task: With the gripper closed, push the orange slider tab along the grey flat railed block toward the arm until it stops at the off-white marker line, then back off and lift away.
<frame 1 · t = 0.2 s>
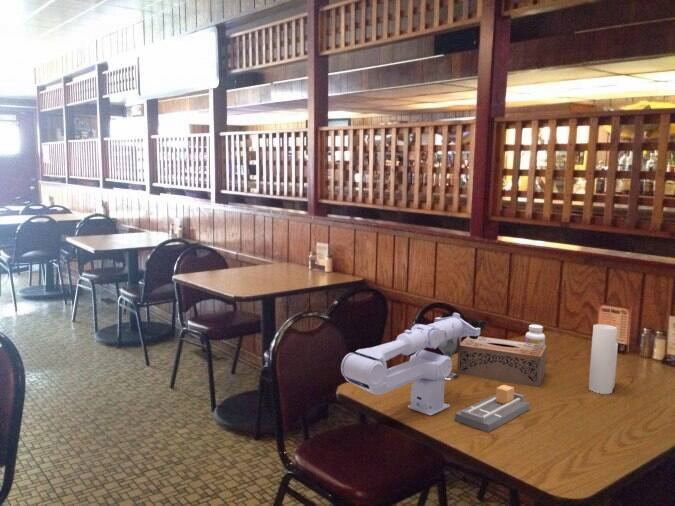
hand: (472, 321, 174), 22 cm above the table, tool horizontal, fingers open, 7 cm apart
tissue box cover: (501, 375, 193), on the table
fader tab: (505, 394, 162), point 4 cm above the table, slide at 0.0 cm
wine glass: (447, 376, 190), on the table
candle: (600, 388, 181), on the table
supplement bottle: (533, 361, 207), on the table
grey flat railed block: (493, 414, 158), on the table
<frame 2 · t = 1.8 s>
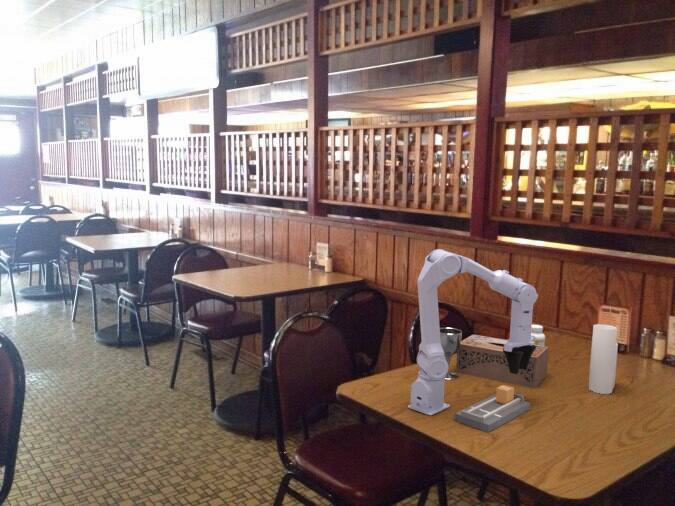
hand: (518, 371, 166), 9 cm above the table, tool pointing down, fingers open, 5 cm apart
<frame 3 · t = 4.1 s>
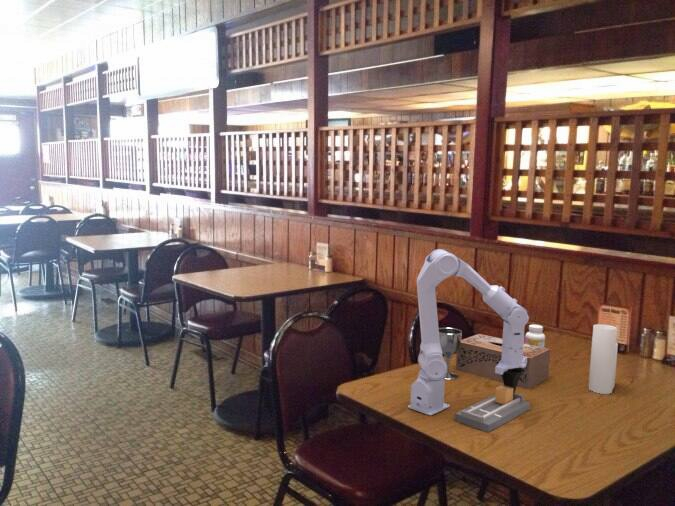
hand: (509, 393, 164), 4 cm above the table, tool pointing down, fingers closed
fader tab: (504, 394, 162), point 4 cm above the table, slide at 0.5 cm, touching gripper
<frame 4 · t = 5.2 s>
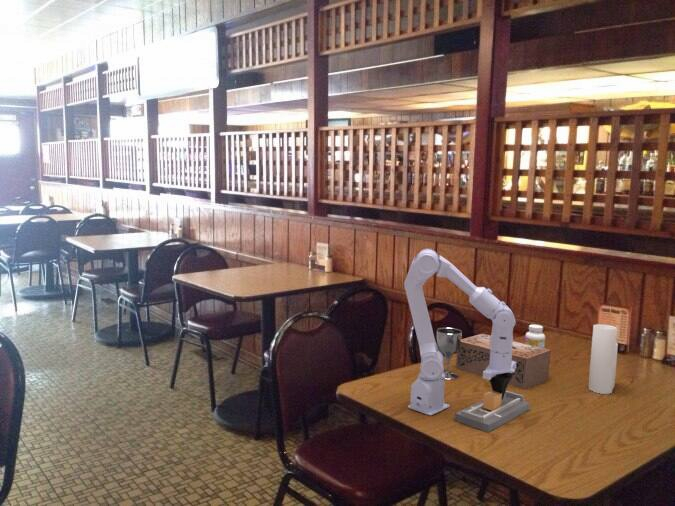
hand: (498, 398, 160), 4 cm above the table, tool pointing down, fingers closed
fader tab: (492, 400, 157), point 4 cm above the table, slide at 6.8 cm, touching gripper
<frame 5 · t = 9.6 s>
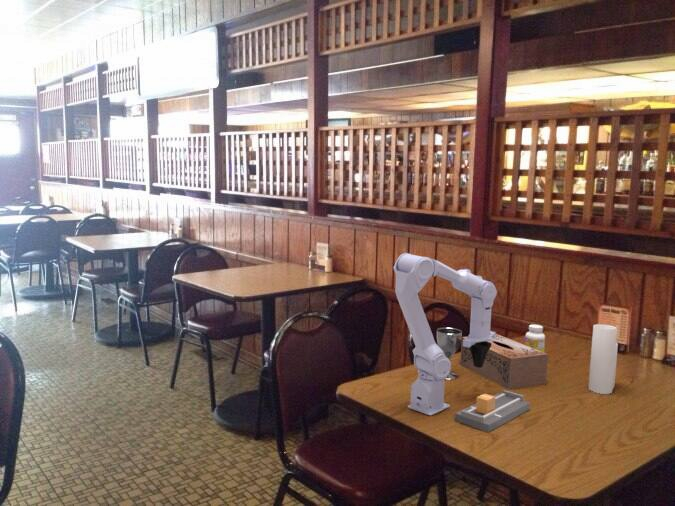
hand: (478, 366, 170), 9 cm above the table, tool pointing down, fingers closed
fader tab: (485, 403, 155), point 4 cm above the table, slide at 10.3 cm
at the end: fader tab slide at 10.3 cm; the gripper is holding nothing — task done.
